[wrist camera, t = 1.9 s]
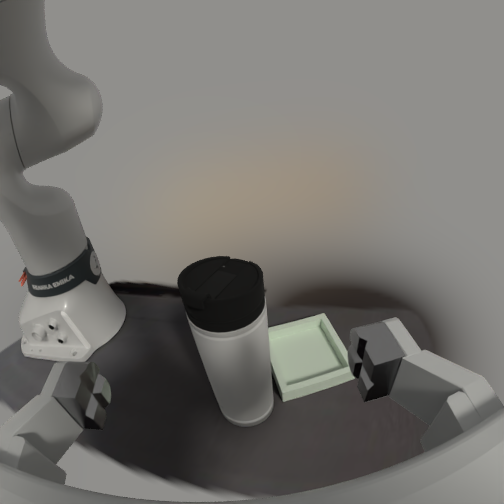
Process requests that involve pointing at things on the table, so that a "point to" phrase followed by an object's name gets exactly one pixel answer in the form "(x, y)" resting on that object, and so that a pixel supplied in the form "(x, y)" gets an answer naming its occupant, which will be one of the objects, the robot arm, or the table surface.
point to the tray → (307, 357)
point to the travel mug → (231, 334)
